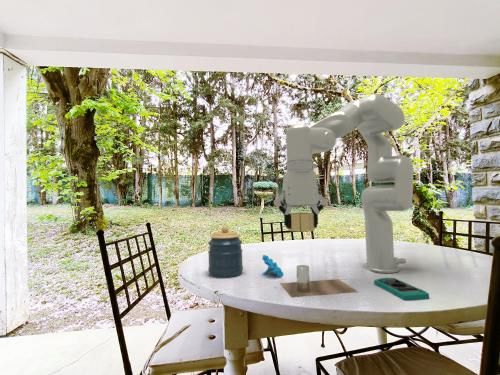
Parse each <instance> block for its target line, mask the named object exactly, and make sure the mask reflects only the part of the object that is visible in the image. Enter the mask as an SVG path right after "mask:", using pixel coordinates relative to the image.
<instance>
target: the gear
mask: <svg viewBox="0 0 500 375" xmlns="http://www.w3.org/2000/svg"><path fill="white" fill-rule="evenodd" d="M261 257H262V258H261V259H262V260H263V262H264V264H265V265H266V266H267V269H266V270H265V271H264V272H263V273H262V274H261V275H262V276H267V275H268V274H269V273H270V272H272V273H273V274H274V275H276V276H278V278H281V277H284V272H283V271H282V269H281V267H279V266H278V263H277V261H274V260H273V259H272V258H270V257H269V256H268V255H265V254H263V255H262V256H261Z"/></svg>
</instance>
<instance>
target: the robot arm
mask: <svg viewBox="0 0 500 375" xmlns="http://www.w3.org/2000/svg"><path fill="white" fill-rule="evenodd" d="M404 123H405V114H404V111H403V110H402V108H401V107H400V106H399V105H398V104H396V103H394V102H393V101H392V100H391V99H389V98H388V97H385V96H384V95H382V94H379V93H373V94H370V95H367V96H364V97H360V98H357V99H355V100H352V101H350V102H349V103H347V104H345V105H344V106H343V107H341V108H340V109H338V110H336V111H335V112H334V113H331V114H329V115H328V116H325V118H323V119H320V120H319V121H317V122H315V123H313V124H311V125H309V126H308V125H306V124H305V125H303V124H300V125H293V126H290V127H288V128H287V129H286V132H285V133H286V134H285V137H286V138H285V139H286V143H285V144H286V168H287V169H286V172H284V174H283V180H282V189H281V190H282V191H281V193H282V194H280V195H279V196H278V197H276V199H274V200H273V204H274V205H275V206H276V207H277V208H278V210H279V211H280V212H281V213H282V214H283V216H284V217H283V218H284V219H283V220H284V221H283V223H284V226H285V228H286V229H287V230H288V229H291V215H290V213H291V210H292V208H293V207H305V206H306V207H309V210H310V211H311V213H314V228H315V229H317V228H318V224H319V215H318V214H320V212H321V211H322V210H323V209H324V207H325V205H326V204H327V203H328V200H327V198H325V197H324V196H322V195H321V194H320V192H319V187H318V182H317V181H318V180H317V176H316V172H315V171H314V169H318V165H317V164H316V163H314V161H313V155H314V154H321V153H326V152H328V151H331V150H332V149H333V148H334V147H335V145H336V143H337V140H338V139H339V138H342V137H345V136H346V135H348V134H350V133H351V132H352V131H353V130H354V129H356V128H357V131H358V132H359V133H360V135H361V136H362V138H363V139H364V141H365V143H366V145H367V148H368V149H367V150H368V151H367V165H366V166H367V168H366V175H367V179H368V180H369V182H372V183H378V184H379V183H380V184H381V183H394V184H387V185H385V184H384V185H383V184H381V185H373V186H368V187H366V188H364V189H363V191H362V193H361V196H360V199H361V200H360V201H361V204H362V208H363V213H364V224H365V251H366V252H365V253H366V256H365V257H366V262H365V263H363V264H362V268H363V269H365V270H367V271H370V272H373V273H379V274H381V273H382V274H393V273H394V274H395V273H397V272H398V273H399V271H400V267H399V265H400V264H401V265H402V264H407V259H406V258H404V257H403V258H398V257H395V249H394V247H395V246H394V231H393V230H394V229H393V228H394V227H393V226H394V225H393V221H392V220H393V219H391V217H390V215H389V213H388V212H403V211H404V212H405V211H408V210H409V209H410V208H411V206H412V203H413V195H414V193H413V192H414V165H413V163H412V160H411V159H410V157H408V156H406V155H402V154H401V155H393V146H392V143H391V141H390V140H389V139H388V137H386V136H385V135H384V133H388V132H392V131H396V130H398V129H400V128H402V127H403V125H404ZM281 202H282V203H281ZM282 204H283V205H284V206H285V207H284V206H283V205H282Z"/></svg>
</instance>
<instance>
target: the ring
mask: <svg viewBox="0 0 500 375" xmlns="http://www.w3.org/2000/svg"><path fill="white" fill-rule="evenodd" d="M290 215H291V229H288V228H287V230H288V231H290V232H299V233H300V232H313V231H315V230H316V228H314V213H312V212H290Z"/></svg>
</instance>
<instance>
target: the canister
mask: <svg viewBox="0 0 500 375" xmlns="http://www.w3.org/2000/svg"><path fill="white" fill-rule="evenodd" d="M240 237H241V235H240V233H237V232H236V231H234V230H232V231H230V230H229V227H227V226H225V225H224V226H222V227H221V231H216V232H213V234H211V235H210V240H209V241H208V242H207V244H208V245H209V247H208V248H209V249H208V251H207V253H208V267H207V268H208V274H209V276H211V277H214V278H223V279H225V278H226V279H227V278H234V277H237V276H240V275H242V274H243V270H244V265H243V252H244V250H243V249H242V244H243V240H241V239H240Z"/></svg>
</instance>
